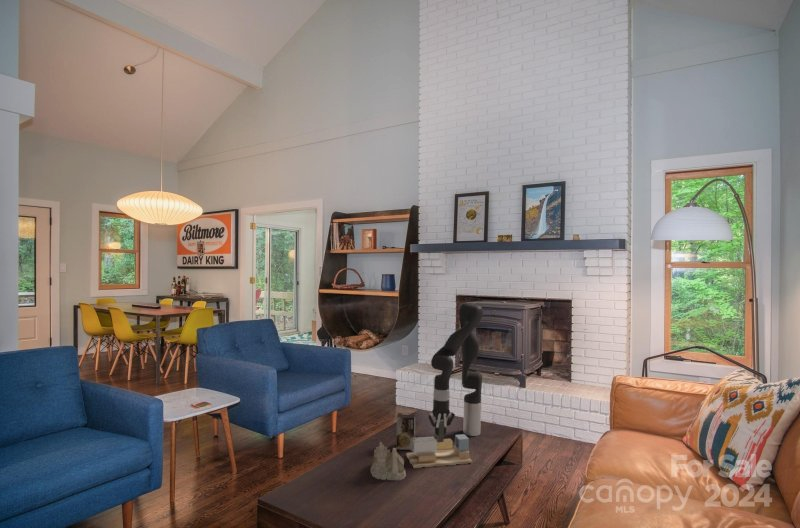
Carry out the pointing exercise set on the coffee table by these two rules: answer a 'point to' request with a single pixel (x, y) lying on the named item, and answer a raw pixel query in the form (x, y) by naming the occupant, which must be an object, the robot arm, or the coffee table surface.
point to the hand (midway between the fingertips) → (440, 434)
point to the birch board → (439, 459)
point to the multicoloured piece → (441, 441)
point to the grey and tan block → (424, 449)
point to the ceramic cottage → (387, 464)
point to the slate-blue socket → (462, 446)
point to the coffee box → (405, 430)
